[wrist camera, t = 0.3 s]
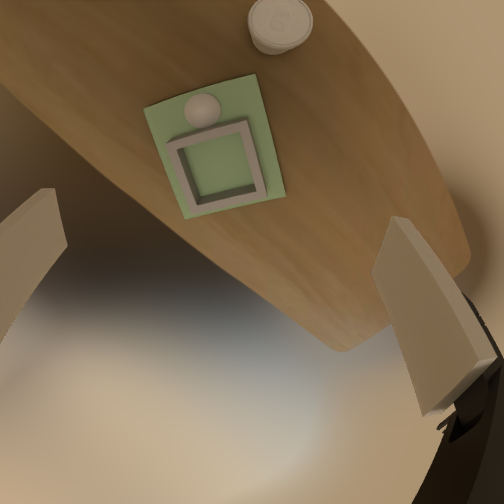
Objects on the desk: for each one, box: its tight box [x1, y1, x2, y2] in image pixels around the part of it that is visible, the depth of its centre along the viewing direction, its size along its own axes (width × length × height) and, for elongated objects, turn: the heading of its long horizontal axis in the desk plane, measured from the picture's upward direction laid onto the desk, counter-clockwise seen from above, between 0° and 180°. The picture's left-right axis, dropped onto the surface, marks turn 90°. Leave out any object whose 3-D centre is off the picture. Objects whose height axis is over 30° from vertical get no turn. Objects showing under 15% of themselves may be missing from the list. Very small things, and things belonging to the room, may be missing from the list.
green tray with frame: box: [143, 74, 286, 219], centre depth 32 cm, size 15×13×4 cm
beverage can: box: [248, 0, 313, 55], centre depth 21 cm, size 5×5×12 cm
